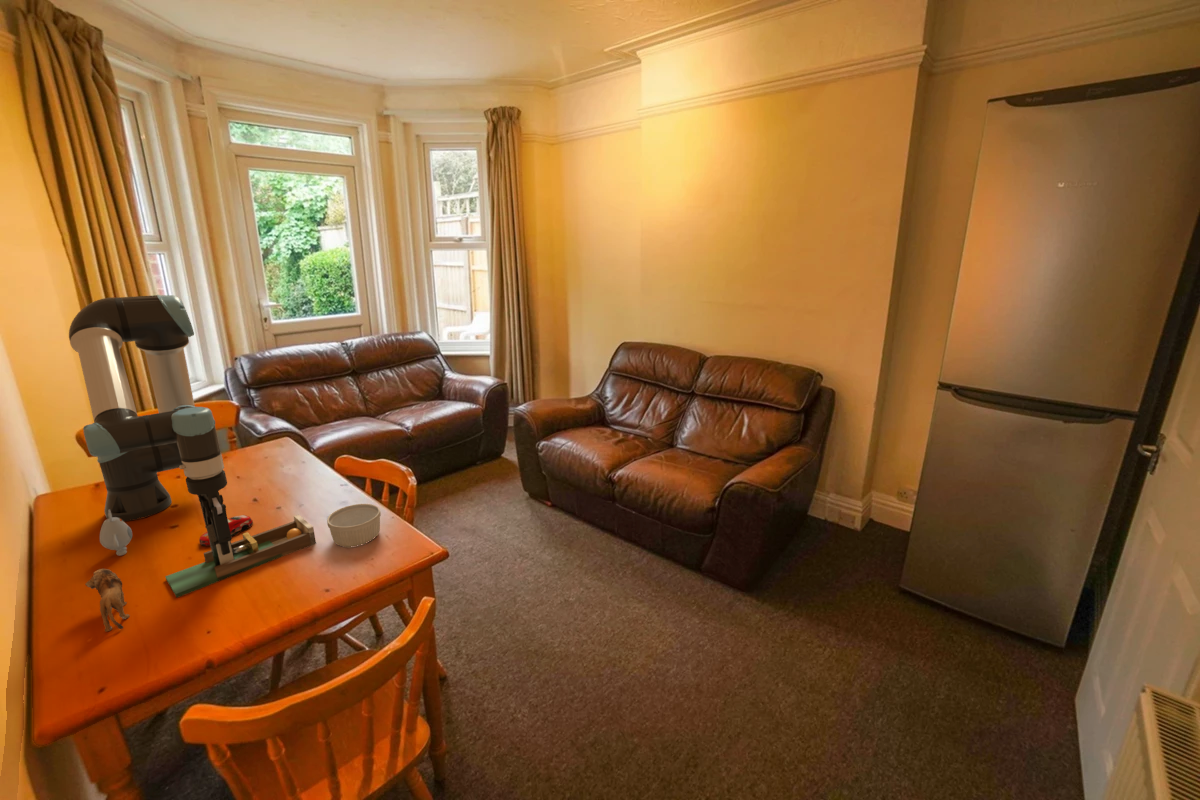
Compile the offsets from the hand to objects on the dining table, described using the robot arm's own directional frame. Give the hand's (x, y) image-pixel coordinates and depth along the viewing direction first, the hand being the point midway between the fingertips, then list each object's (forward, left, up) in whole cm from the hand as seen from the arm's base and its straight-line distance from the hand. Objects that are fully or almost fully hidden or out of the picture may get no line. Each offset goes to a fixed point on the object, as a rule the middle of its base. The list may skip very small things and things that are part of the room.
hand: (224, 560), depth 130 cm
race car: (-18, +5, -3) cm, 19 cm away
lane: (0, +4, -2) cm, 5 cm away
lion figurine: (+2, -21, -2) cm, 22 cm away
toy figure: (-28, -16, -2) cm, 32 cm away
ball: (0, +16, 0) cm, 16 cm away
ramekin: (+10, +28, -2) cm, 30 cm away
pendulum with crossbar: (0, +2, -1) cm, 2 cm away
